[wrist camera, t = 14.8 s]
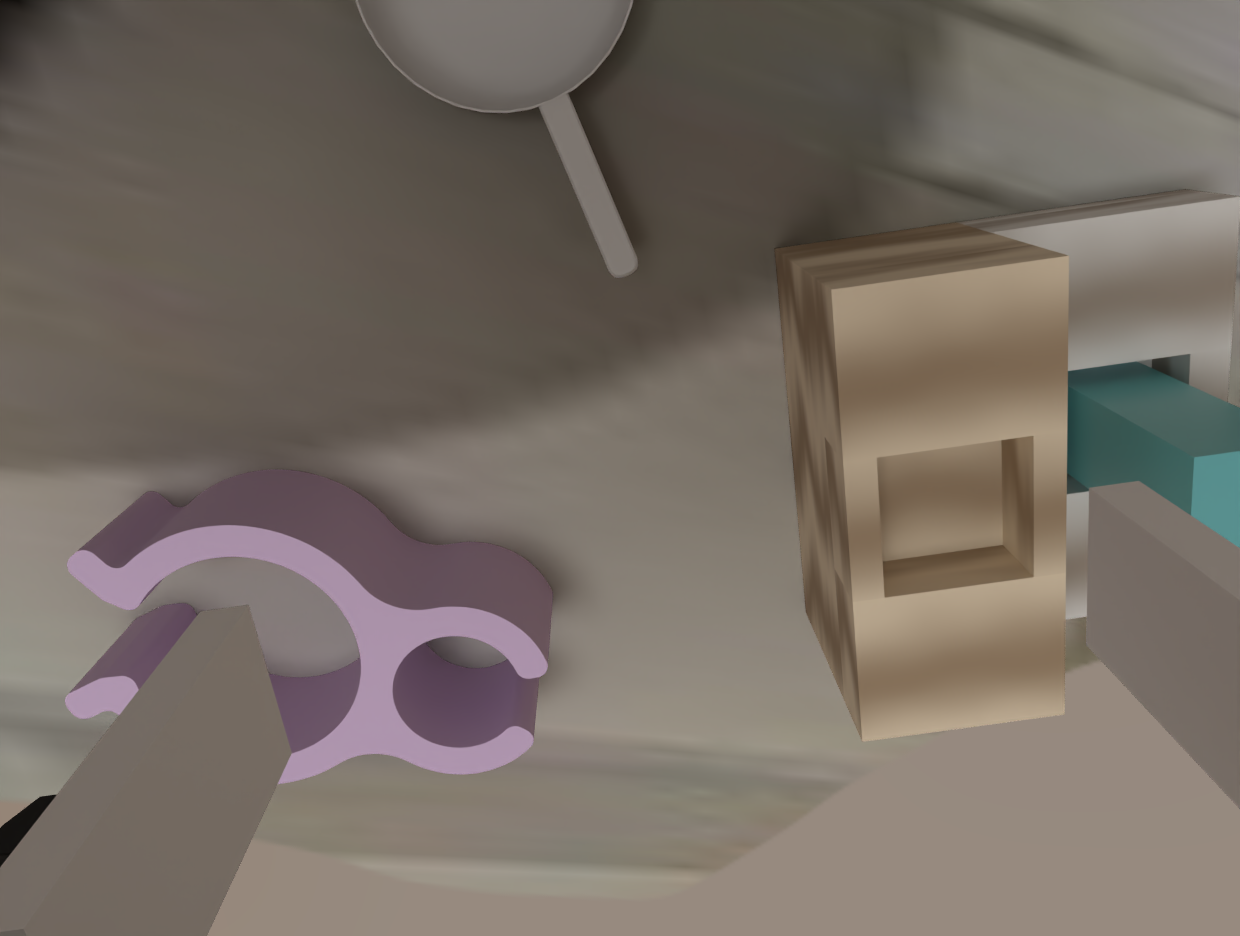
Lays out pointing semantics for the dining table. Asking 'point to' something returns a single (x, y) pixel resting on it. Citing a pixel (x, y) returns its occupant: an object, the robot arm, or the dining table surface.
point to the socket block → (975, 435)
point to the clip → (370, 600)
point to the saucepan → (515, 75)
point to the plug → (1156, 440)
